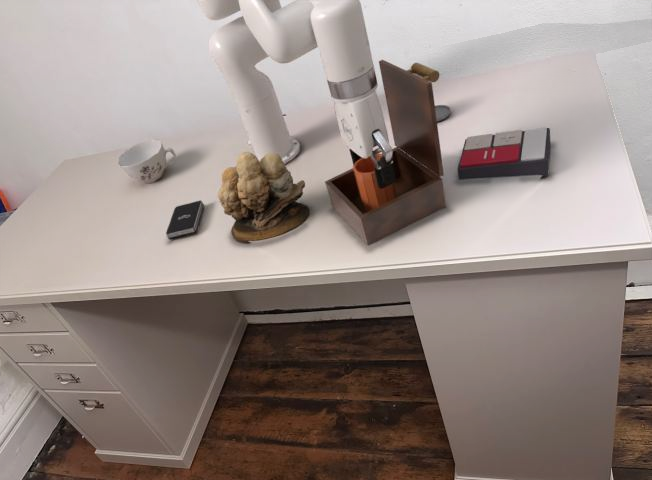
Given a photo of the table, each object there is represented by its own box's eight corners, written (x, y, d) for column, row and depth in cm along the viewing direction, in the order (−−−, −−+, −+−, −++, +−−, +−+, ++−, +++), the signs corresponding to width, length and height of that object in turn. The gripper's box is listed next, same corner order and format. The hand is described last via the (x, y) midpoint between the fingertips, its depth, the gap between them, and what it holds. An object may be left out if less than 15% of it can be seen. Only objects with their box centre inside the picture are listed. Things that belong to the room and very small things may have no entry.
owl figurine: (313, 197, 111) (289, 124, 100) (316, 230, 102) (290, 154, 91) (234, 218, 114) (202, 150, 103) (230, 252, 106) (195, 181, 95)
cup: (357, 214, 100) (345, 169, 94) (380, 195, 102) (369, 150, 96) (382, 223, 96) (371, 177, 89) (405, 204, 98) (396, 157, 91)
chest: (369, 249, 93) (360, 218, 88) (333, 210, 105) (324, 181, 101) (446, 210, 94) (442, 178, 90) (402, 176, 106) (396, 146, 102)
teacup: (127, 195, 139) (111, 170, 134) (138, 171, 148) (123, 146, 143) (178, 181, 136) (164, 154, 131) (186, 157, 145) (173, 131, 140)
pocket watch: (454, 108, 119) (450, 65, 113) (442, 128, 115) (437, 84, 108) (420, 109, 124) (414, 68, 117) (407, 128, 119) (400, 86, 113)
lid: (427, 84, 79) (456, 70, 79) (378, 61, 91) (403, 49, 91) (440, 177, 89) (465, 164, 90) (394, 145, 101) (417, 134, 102)
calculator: (464, 134, 103) (549, 123, 96) (467, 153, 106) (550, 143, 98) (456, 166, 96) (547, 156, 89) (459, 185, 99) (548, 177, 92)
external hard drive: (205, 206, 122) (202, 199, 121) (197, 235, 114) (193, 228, 113) (178, 213, 124) (175, 206, 122) (168, 242, 116) (164, 235, 114)
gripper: (311, 79, 89) (336, 166, 100) (354, 107, 76) (378, 203, 87) (350, 61, 90) (371, 149, 101) (400, 86, 76) (418, 184, 87)
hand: (374, 174), depth 94 cm, fingers open, 9 cm apart
